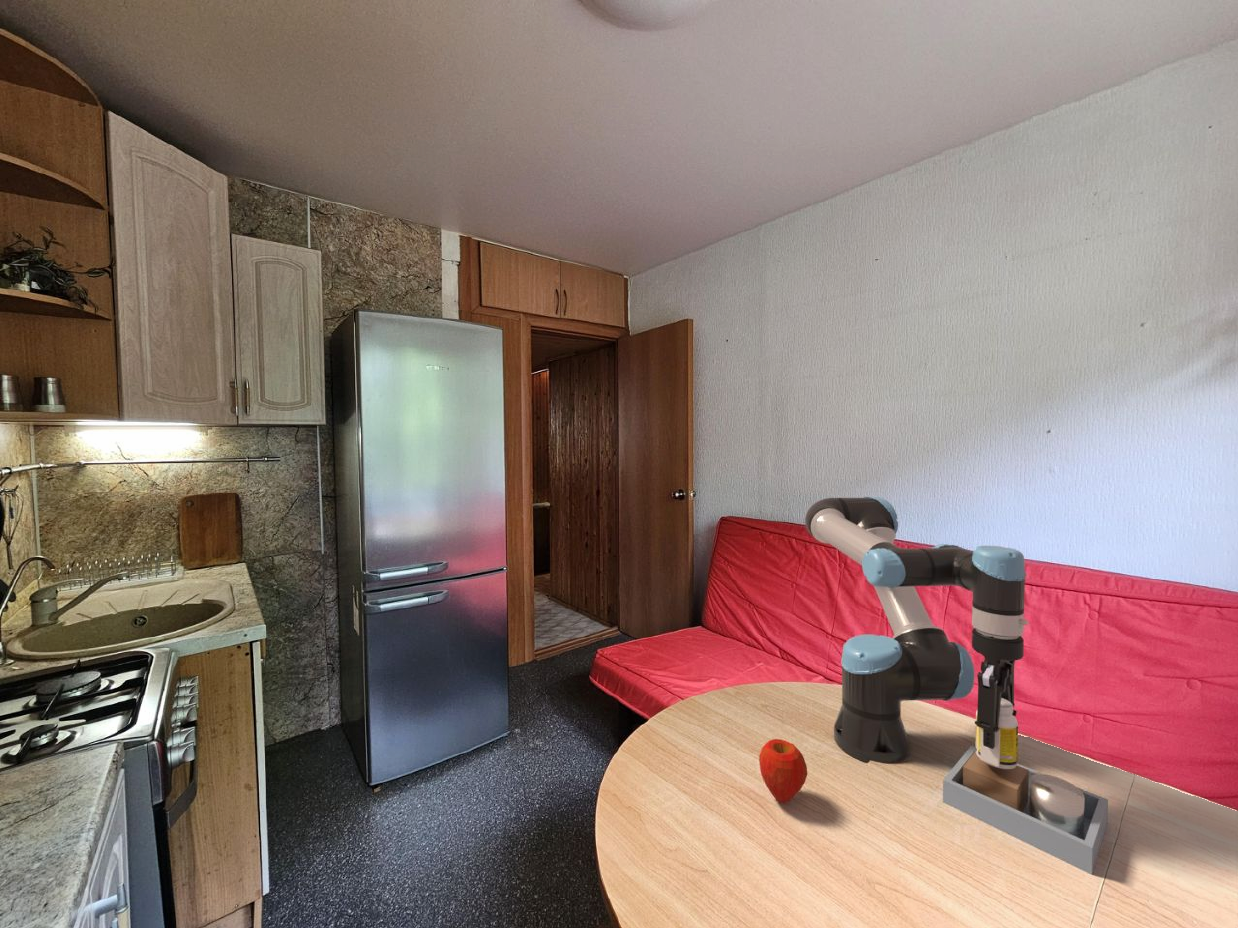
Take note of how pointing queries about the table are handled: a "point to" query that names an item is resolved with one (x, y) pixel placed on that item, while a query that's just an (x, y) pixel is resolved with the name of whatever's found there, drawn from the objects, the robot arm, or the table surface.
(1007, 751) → the pill bottle
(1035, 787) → the metal tin
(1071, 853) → the crate
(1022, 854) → the table surface
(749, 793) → the table surface
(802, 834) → the table surface
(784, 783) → the apple
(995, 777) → the walnut block
